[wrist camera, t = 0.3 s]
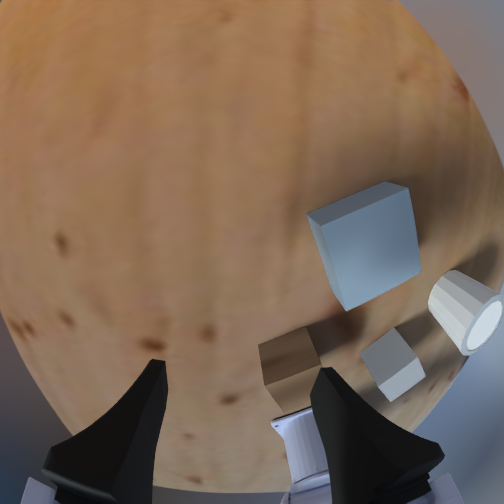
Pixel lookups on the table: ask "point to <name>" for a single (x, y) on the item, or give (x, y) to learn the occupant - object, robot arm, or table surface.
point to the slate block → (367, 242)
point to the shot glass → (466, 310)
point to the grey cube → (392, 364)
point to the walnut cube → (290, 368)
